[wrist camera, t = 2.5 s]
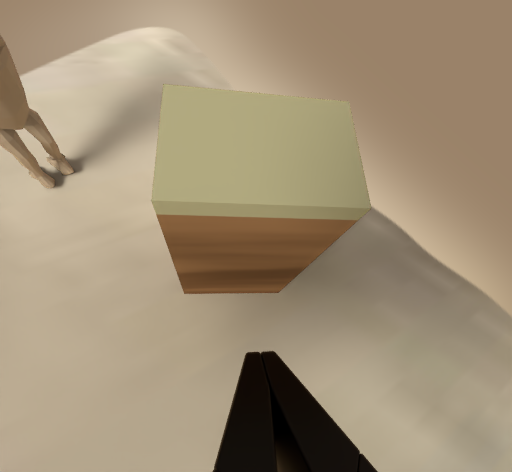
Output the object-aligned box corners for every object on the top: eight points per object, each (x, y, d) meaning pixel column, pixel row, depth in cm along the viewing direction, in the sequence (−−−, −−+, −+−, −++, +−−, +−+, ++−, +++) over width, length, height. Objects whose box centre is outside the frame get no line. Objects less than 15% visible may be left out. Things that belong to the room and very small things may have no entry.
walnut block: (278, 292, 19) (371, 208, 8) (184, 293, 18) (151, 200, 7) (274, 236, 21) (349, 101, 10) (187, 234, 20) (162, 83, 9)
